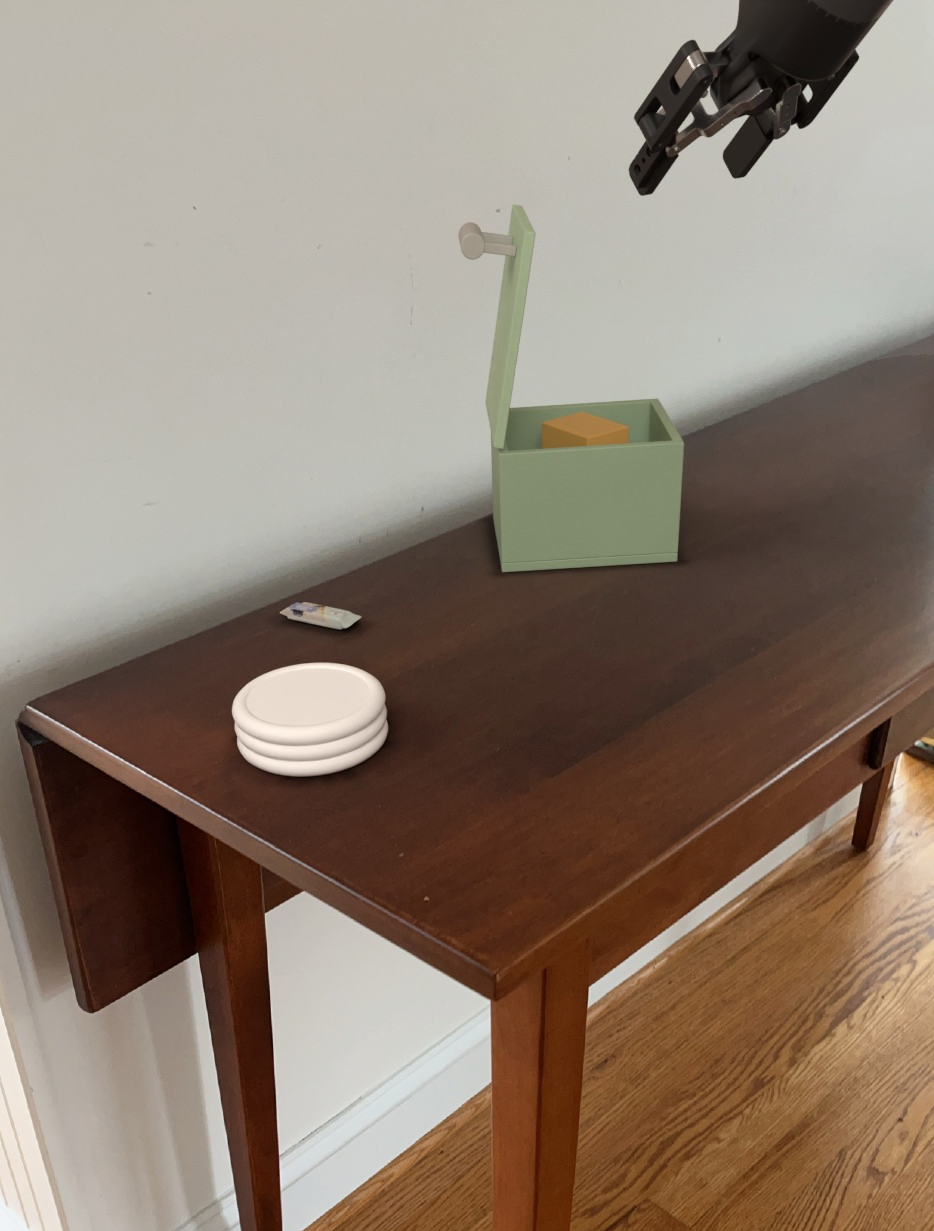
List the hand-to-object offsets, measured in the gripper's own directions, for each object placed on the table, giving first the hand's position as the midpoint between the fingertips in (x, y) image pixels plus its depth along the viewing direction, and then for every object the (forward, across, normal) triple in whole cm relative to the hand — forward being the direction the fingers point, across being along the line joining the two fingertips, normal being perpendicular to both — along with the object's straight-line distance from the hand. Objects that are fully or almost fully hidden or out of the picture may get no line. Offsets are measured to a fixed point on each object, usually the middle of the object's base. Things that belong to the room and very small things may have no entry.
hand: (685, 176), depth 86 cm
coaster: (+17, +36, +24) cm, 46 cm away
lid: (+17, +5, -2) cm, 18 cm away
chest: (+28, 0, +13) cm, 31 cm away
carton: (+27, 0, +12) cm, 30 cm away
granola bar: (+28, +26, +13) cm, 40 cm away
